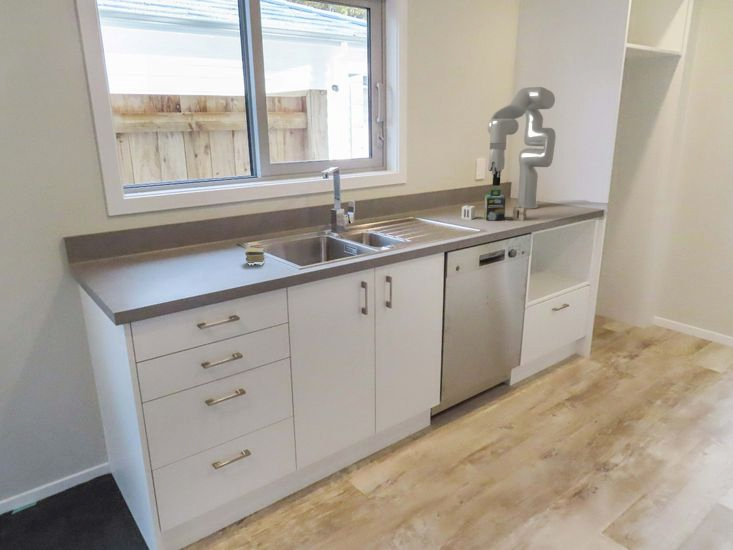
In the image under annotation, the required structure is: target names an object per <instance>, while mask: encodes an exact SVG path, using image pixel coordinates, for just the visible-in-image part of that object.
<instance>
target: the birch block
mask: <svg viewBox="0 0 733 550" xmlns="http://www.w3.org/2000/svg"><path fill="white" fill-rule="evenodd" d="M527 210H528V209H527V207H522V206H516V207H515V206H514V207H513V210H512V220H513V221H522V222H523V221H525V220H526V219H527Z"/></svg>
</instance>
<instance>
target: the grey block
mask: <svg viewBox="0 0 733 550" xmlns="http://www.w3.org/2000/svg"><path fill="white" fill-rule="evenodd" d="M475 215H476V206H475V205H463V206H461V219H462V220H470V221H471V220H474V219H476V218H475V217H476V216H475ZM473 218H474V219H473Z"/></svg>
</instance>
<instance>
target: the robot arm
mask: <svg viewBox="0 0 733 550" xmlns="http://www.w3.org/2000/svg"><path fill="white" fill-rule="evenodd" d="M555 100H556V97H555V94H554V93H553V92H552V91H551V90H549V89H547V88H545V87H543V86H532V87H522V88H521V89H519V90H518V91H517V93H516V95H515V96H514V98H513V99H512V100H511V102H510V104H508V105H506V106H504V107H502V108H500V109H499V110H497V111H495V112H494V113H493V115H492V116H491V117H490V120H489V122H488V124H487V130H488V133H489V134H490V135H489V136H490V137H489V151H490V152H489V158H488V170H487V171H488V172H491V175H492V187H494V186H495V187H496V186H497V187H498V186H500V185H501V174H502V171H503V170H504V169H505V163H506V162H505V160H506V157H505V156H506V155H505V153H506V152H505V150H506V151H507V137H508V136H511V135H514V134H516V133H517V132H518V130H519V127H520V126H519V122H518V120H517V119H519V118H521V117H523V116H524V115H525V118H526V121H525V130H524V137H523V139H524V140H523V141H524V144H525V145H526V146H530V148H524V149H522V150H520V151H519V154H518V162H519V163H518V164H519V165H518V166H519V178H518V192H517V193H518V195H517V203H516V204H514V207H516V206H522V207H527V209H526V210H530V209H531V210H532V209H538V208H539V205H538V204H537V203H536V202H537V190H538V177H539V176H538V172H537V170H536V168H548V167H551V165H552V164H553V159H554V155H555V154H554V152H555V146H556V145H555V144H556V131H555V129H554V128H552V127H543V124H544V123H543V122H544V116H543V114H542V113H541V111H540V110H550V109H552V108H553V106H554V104H555ZM531 147H543V148H531Z"/></svg>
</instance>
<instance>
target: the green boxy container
mask: <svg viewBox="0 0 733 550" xmlns="http://www.w3.org/2000/svg"><path fill="white" fill-rule="evenodd" d="M495 192H497V193H495ZM501 193H502V191H501V189H500V188H499V189H498V188H495V189H494V188H493V189H490V194H485V195H484V211H483V213H484V217H483V218H484V219H485V221H496V222H497V221H498V222H499V221H503V222H504V221H505V220H506V219H505V217H506V199H507V197H506V196H505V195H504V194H501Z"/></svg>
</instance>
